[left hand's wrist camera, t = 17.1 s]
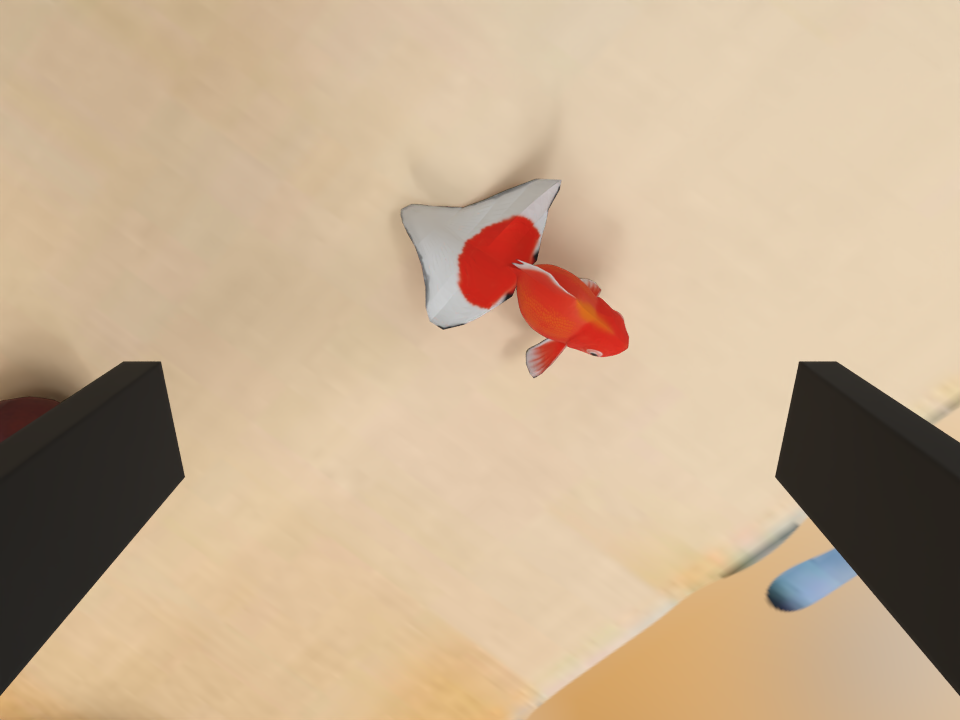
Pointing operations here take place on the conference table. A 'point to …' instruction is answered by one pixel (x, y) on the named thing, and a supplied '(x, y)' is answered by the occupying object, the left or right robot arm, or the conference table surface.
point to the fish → (509, 273)
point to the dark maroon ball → (21, 413)
